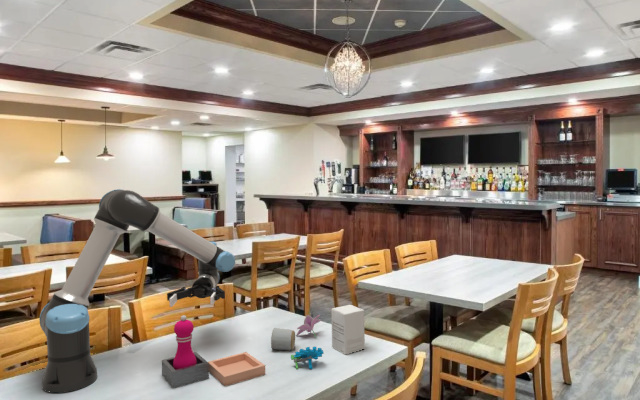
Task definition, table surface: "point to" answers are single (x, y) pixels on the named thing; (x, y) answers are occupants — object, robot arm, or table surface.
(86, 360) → the robot arm
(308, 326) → the lily
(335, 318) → the supplement box
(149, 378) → the table surface
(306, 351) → the blue bumpy piece
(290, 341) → the ceramic mug
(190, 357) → the pepper mill
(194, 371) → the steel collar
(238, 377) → the terracotta tray
